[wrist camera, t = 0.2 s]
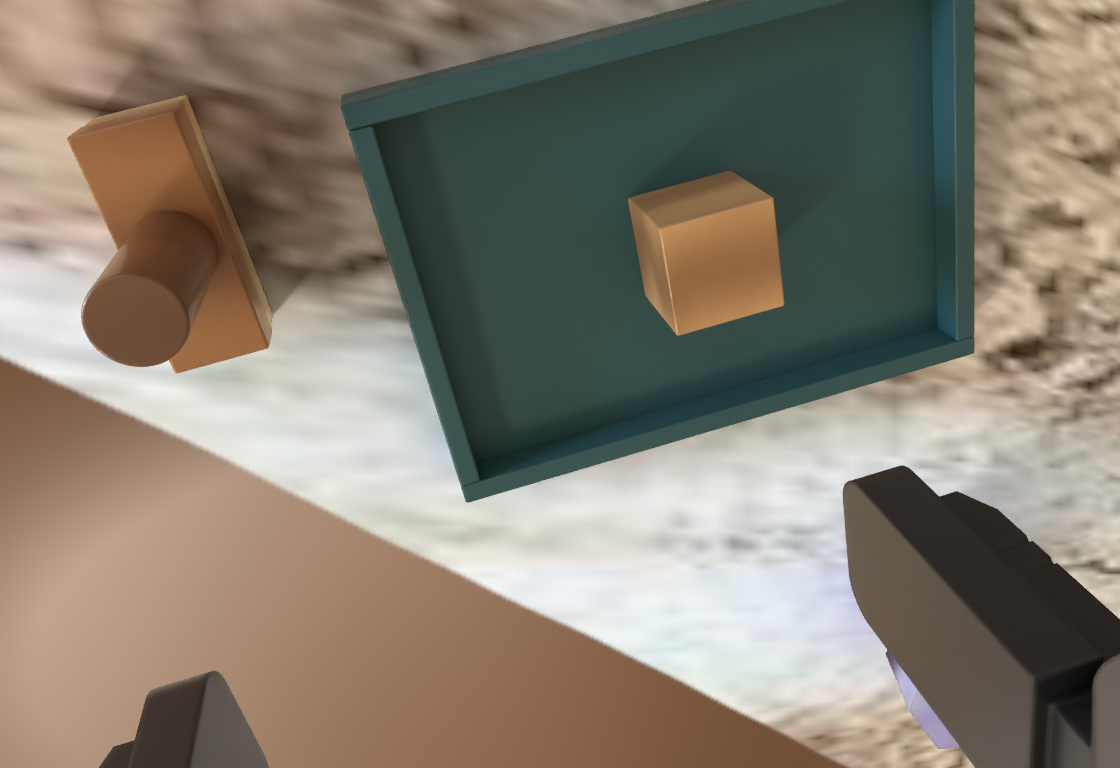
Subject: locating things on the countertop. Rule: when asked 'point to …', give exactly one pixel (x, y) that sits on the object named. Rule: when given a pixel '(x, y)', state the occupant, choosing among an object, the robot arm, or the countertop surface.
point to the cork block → (708, 251)
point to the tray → (659, 162)
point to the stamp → (167, 245)
